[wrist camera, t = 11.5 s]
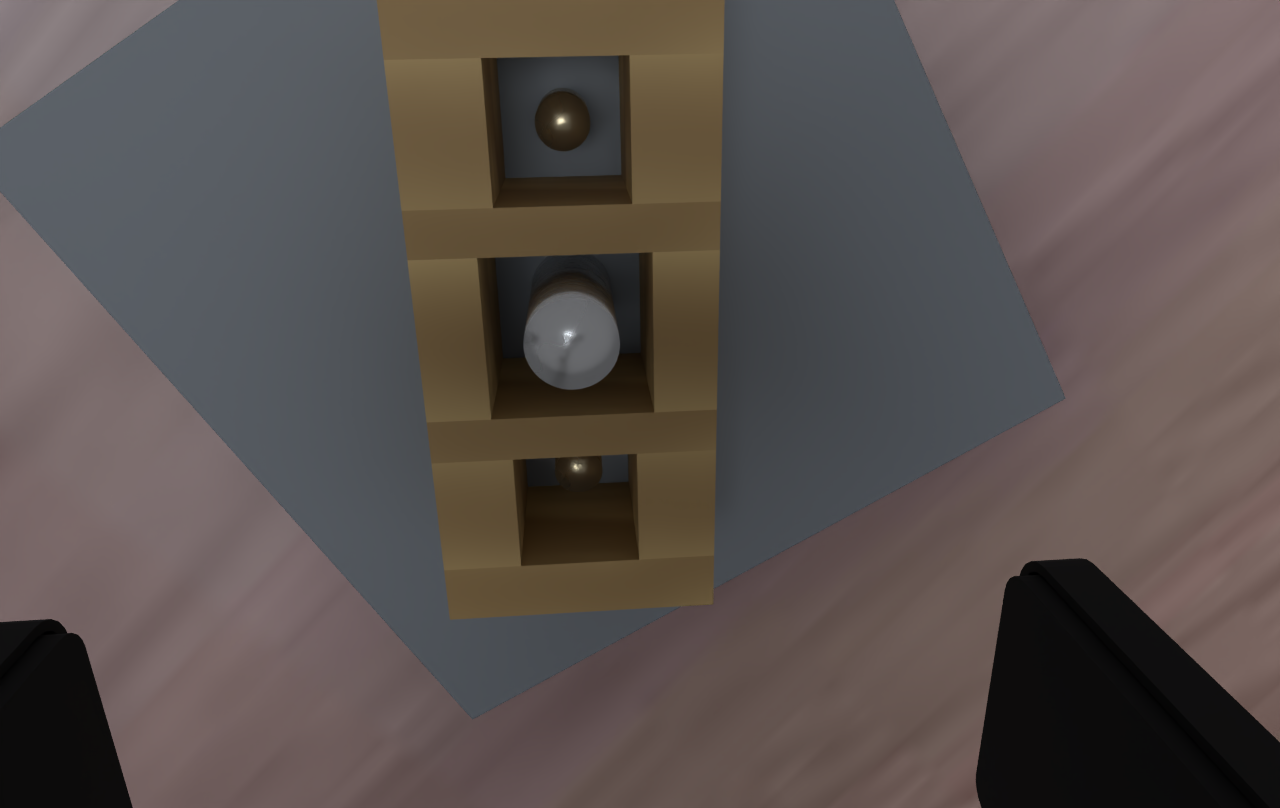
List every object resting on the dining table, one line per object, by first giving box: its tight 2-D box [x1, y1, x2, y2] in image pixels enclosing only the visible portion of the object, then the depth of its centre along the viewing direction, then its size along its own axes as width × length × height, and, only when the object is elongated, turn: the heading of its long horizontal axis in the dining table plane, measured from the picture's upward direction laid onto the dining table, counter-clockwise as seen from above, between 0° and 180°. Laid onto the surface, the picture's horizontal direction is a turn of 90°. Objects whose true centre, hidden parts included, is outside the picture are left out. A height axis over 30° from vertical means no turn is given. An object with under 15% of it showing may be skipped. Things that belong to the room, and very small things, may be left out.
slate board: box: [0, 0, 1065, 719], centre depth 23 cm, size 20×20×2 cm
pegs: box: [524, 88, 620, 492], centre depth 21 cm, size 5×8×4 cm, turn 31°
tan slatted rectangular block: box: [377, 0, 725, 620], centre depth 21 cm, size 14×6×4 cm, turn 1°
